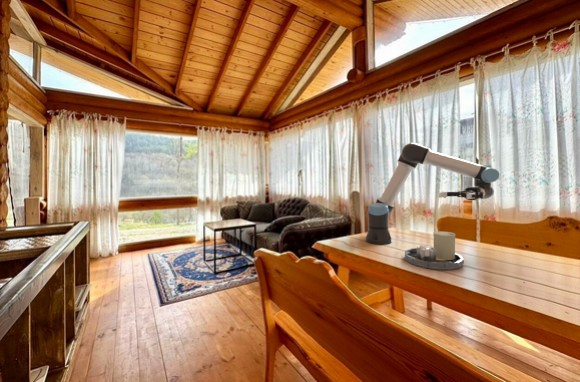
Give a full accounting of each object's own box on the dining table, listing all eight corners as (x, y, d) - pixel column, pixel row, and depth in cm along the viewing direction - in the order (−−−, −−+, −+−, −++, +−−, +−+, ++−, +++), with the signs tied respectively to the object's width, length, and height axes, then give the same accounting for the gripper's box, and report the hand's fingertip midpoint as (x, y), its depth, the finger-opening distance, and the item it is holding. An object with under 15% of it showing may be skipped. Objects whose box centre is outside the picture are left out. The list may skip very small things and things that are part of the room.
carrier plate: (395, 255, 133) (395, 241, 133) (437, 252, 137) (437, 238, 136) (426, 272, 110) (426, 255, 109) (476, 267, 113) (476, 251, 113)
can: (455, 261, 118) (455, 235, 117) (432, 258, 123) (432, 233, 122) (455, 255, 126) (455, 231, 125) (433, 253, 131) (434, 229, 130)
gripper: (500, 201, 133) (480, 205, 122) (450, 198, 154) (429, 201, 144) (501, 187, 132) (480, 189, 122) (450, 186, 154) (429, 187, 143)
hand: (452, 195), depth 133 cm, fingers open, 13 cm apart
